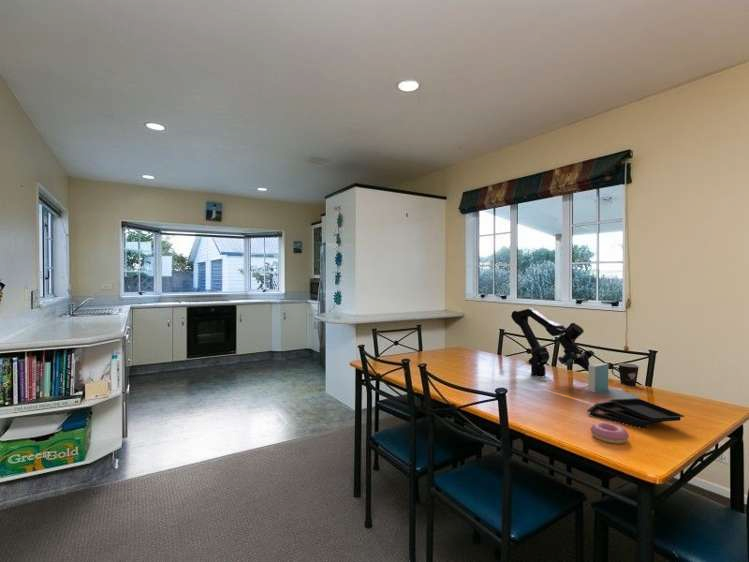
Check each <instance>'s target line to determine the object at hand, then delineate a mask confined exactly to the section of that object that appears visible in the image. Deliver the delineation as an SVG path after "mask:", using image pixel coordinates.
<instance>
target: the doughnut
mask: <svg viewBox="0 0 749 562" xmlns="http://www.w3.org/2000/svg"><path fill="white" fill-rule="evenodd" d="M590 433H591V435H592V436H593V437H594V438H596V439H597V440H599V441H601V442H604V443H607V442H608V444H613V443H614V444H615V445H616V444H617V445H620V444H625V443H627V442H628V440H629V437H630V435H629V433H628V431H627V430H626V429H625V428H623V427H622V426H619V425H617V424H614V423H609V422H596V423H594V424H592V426H591V427H590ZM614 444H613V445H614Z"/></svg>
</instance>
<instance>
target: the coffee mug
mask: <svg viewBox="0 0 749 562" xmlns="http://www.w3.org/2000/svg"><path fill="white" fill-rule="evenodd" d="M639 368H640V366H639V365H638V364H634V363H627V362H624V363H623V362H622V363H618V366H613V367H612V368H611V373H612V374H613V376H615V377H616V378H618V379H620V384H621V385H624V386H629V387H632V386H633V387H636V386H637V381H638V375H639V374H638V373H639ZM614 369H617V370H618V372H619V373H618V374H619V376H618V375H617V374H615V373H614ZM635 385H636V386H635Z"/></svg>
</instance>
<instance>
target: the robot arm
mask: <svg viewBox="0 0 749 562" xmlns="http://www.w3.org/2000/svg"><path fill="white" fill-rule="evenodd" d="M510 317H511V320H513V322H514V323H515V324H516V325H518V326H519V328H520V329H521V331H522V333H523V336H524V337H525V339H526V341H527V342H528V345H529V347H530V349H531V351H530V353H531V356H532V357H530V358H529V359H528V363H529V365H531V369H530V372H531V373H530V376H531V377H538V378H544V377H545V375H546V370H547V369H546V368H547V367H546V365H547V364H548V362H549V360H550V357H551V356H550V352H549V351H548V348H547V347H546V346H542V345H541V344H540V342H539V341H538V339H537V337H536V335H535V334H534V331H533V329H532V328H531V326H530V324H529V317H530V318H531V319H533V320H534V321H536V322H537V323H538V324H540V325H541V326H542V327H544V329H545V331H546V332H547V333H548V334H549V335H550V336H552V337H555V338H554V344H560V345H561V346H562V348H563V352H564V355H562V356H559V357H558V358H557V360H558V361H559V362H560V364H561V365H565V366H566V367H568V366H572V364H573V365H577V366H580V367H581V368H582V369H584V370H585V371H587V372H588V371H589V365H590V362H589V361H590V360H589V359H591V358H592V357H593V356H594V355H595V352H594V351H593V350H590V349H588V350H583V349H580V348H579V347H578V346H579V344H578V343H577V342H574V340H577V339H578V338H579V337H580V336H582V334H584V328H582V327H581V326H580V325H578V324H576V323H575V322H571V323H570V324H569V326H567V327H565V326H564V325H562V324H560V323H558V322H556V321H552V320H550V319H549V318H548V317H547V316H545V315H543V314H542V313H540V312H539V311H537V310H536V309H535V308H530V307H529V308H527V309H522V310H521V309H520V310H514V311H512V312H511V315H510ZM543 376H544V377H543Z"/></svg>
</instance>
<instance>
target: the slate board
mask: <svg viewBox="0 0 749 562" xmlns="http://www.w3.org/2000/svg"><path fill="white" fill-rule="evenodd" d="M582 391H583V392H586V393H590V394H594V395H597V396H602V397H605V398H608V399H610V400H612V399H635V398H636V399H640V398H643V395H641V394H635V393H631V392H628V391H623V390H619V389H616V388H612V387H608V389H606V390H601V391H597V392H592V391H589V390H588V388H587V389H583V390H582Z"/></svg>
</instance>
